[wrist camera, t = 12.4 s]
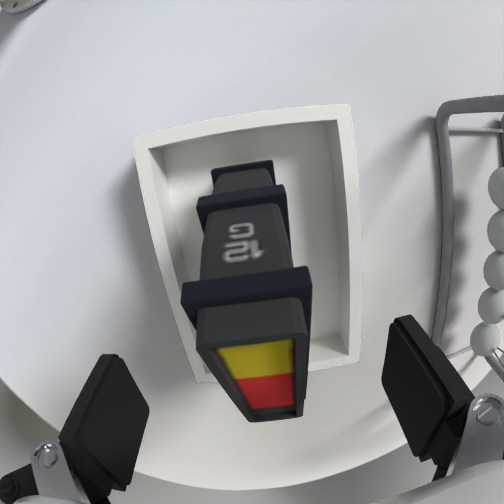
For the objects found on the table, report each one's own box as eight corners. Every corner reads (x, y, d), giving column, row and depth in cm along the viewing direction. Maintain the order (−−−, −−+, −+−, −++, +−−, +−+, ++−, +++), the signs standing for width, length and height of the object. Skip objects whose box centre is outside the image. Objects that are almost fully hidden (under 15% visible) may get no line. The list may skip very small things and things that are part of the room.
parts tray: (203, 354, 27) (197, 382, 24) (151, 138, 21) (131, 137, 17) (347, 335, 27) (359, 361, 23) (333, 110, 20) (349, 103, 16)
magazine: (263, 114, 18) (321, 321, 7) (280, 255, 27) (307, 422, 16) (206, 124, 18) (176, 339, 7) (239, 261, 27) (249, 429, 17)
